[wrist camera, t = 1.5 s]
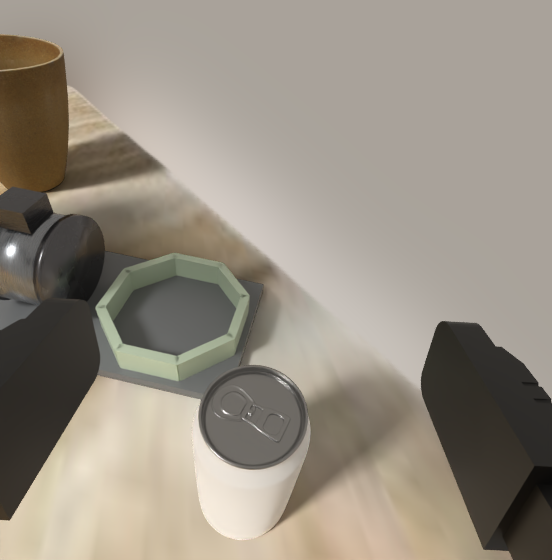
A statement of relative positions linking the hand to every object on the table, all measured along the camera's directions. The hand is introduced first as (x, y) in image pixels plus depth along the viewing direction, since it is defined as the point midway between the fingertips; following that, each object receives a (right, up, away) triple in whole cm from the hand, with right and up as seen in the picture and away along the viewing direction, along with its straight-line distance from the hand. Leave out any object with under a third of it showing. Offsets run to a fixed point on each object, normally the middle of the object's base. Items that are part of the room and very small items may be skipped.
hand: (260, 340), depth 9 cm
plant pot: (-33, +15, +45) cm, 58 cm away
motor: (-21, 0, +29) cm, 36 cm away
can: (-2, -14, +19) cm, 24 cm away
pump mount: (-14, -2, +29) cm, 33 cm away
